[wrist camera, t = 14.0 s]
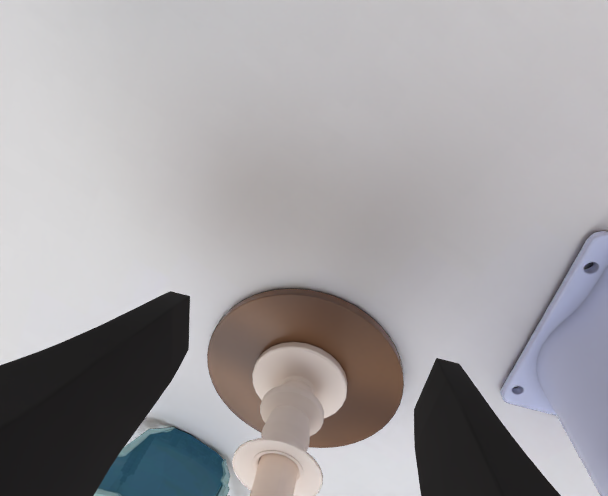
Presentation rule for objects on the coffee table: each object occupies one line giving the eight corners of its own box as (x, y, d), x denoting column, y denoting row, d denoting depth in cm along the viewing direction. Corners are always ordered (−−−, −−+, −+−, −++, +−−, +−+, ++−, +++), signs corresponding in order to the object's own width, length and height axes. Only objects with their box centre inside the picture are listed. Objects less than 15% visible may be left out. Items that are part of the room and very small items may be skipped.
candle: (328, 332, 18) (281, 589, 9) (360, 407, 20) (348, 691, 10) (239, 350, 20) (118, 587, 10) (276, 419, 21) (200, 676, 12)
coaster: (216, 266, 18) (211, 272, 18) (430, 318, 17) (432, 326, 17) (207, 412, 23) (202, 420, 23) (374, 458, 22) (374, 468, 22)
